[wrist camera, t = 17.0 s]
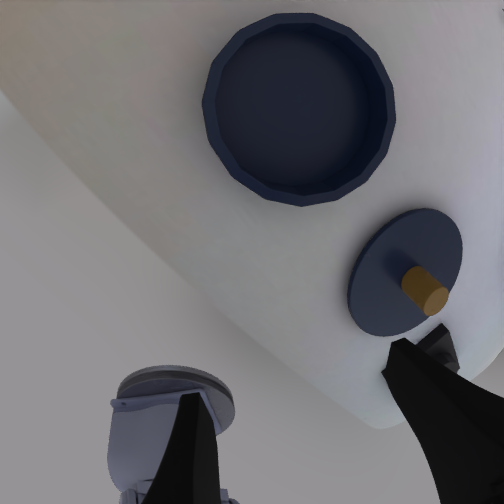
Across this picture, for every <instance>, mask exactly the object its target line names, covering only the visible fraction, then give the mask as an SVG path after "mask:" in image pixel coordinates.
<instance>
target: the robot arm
mask: <svg viewBox="0 0 504 504" xmlns="http://www.w3.org/2000/svg"><path fill="white" fill-rule="evenodd" d="M384 377H385V380H386V382H387V384H388V387H389V389H390V391H391V393H392V396H393V398H394V399H395V401H396V403H397V405H398V406H399V408H400V410H401V411H402V413H403V415H404V416H405V418H406V420H407V421H408V423H409V425H410V426H411V428H412V430H413V432H414V433H415V435H416V437H417V438H418V440H419V442H420V444H421V447H422V449H423V451H424V454H425V456H426V459H427V461H428V464H429V466H430V469H431V472H432V475H433V478H434V481H435V484H436V488H437V491H438V495H439V499H440V503H441V504H504V398H503V397H500V396H498V395H495V394H493V393H491V392H489V391H487V390H485V389H483V388H481V387H479V386H477V385H475V384H473V383H471V382H469V381H468V380H466V379H464V378H463V377H461V376H459V375H458V374H456V373H455V372H453V371H452V370H450V369H449V368H447V367H446V366H444V365H443V364H441V363H440V362H438V361H437V360H435V359H434V358H433V357H431V356H430V355H428V354H427V353H426V352H424V351H423V350H421V349H420V348H419V347H417V346H416V345H415V344H413V343H412V342H410V341H409V340H408V339H406V338H405V337H404V338H402V339H399V340H396V341H394V342H391V347H390V351H389V356H388V360H387V365H386V369H385V373H384ZM110 405H111V406H112V407H113V415H112V422H111V430H110V437H109V445H108V455H107V461H108V469H109V473H110V476H111V479H112V481H113V483H114V485H115V486H116V487H117V489H119V491H121V492H122V493H121V495H120V501H119V504H239V503H238V502H237V501H236V500H235V499H231V498H228V491H227V489H220V482H219V466H218V451H217V441H216V435H215V434H217V433H220V432H222V428H221V426H220V424H219V422H218V419H217V417H216V415H215V413H214V411H213V409H212V407H211V404H210V402H209V400H208V398H207V395H206V393H205V391H204V390H203V389H201V388H197V389H191V390H185V391H178V392H172V393H164V394H157V395H149V396H140V397H130V398H120V399H112V400H111V401H110Z"/></svg>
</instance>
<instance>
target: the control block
mask: <svg viewBox="0 0 504 504" xmlns="http://www.w3.org/2000/svg"><path fill="white" fill-rule="evenodd" d="M416 346H417V347H419V348H420V349H421V350H423V351H424V352H426V353H427V354H428V355H430V356H431V357H433V358H434V359H435V360H437V361H438V362H440V363H441V364H443V365H444V366H446V367H447V368H449V369H450V370H452V371H453V372H455V373H456V374H457V371H458V370H459V369H460V367H459V363H458V359H457V356H456V352H455V349H454V345H453V342H452V339H451V336H450V332H449V330H448V329H447V328H446V327H445V326H444V325H443V324H442V323H441V324H440V325H439V326H438V327H437V328H436V329H434V330H433V331H432V332H431V333H430V334H429V335H428V336H426V337H425V338H424V339H423V340H422V341H420V342H419V343H418V344H417V345H416ZM381 373H382V375H383V376H384V373H385V370H383V371H382V372H381ZM384 378H385V377H384Z"/></svg>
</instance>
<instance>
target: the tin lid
mask: <svg viewBox="0 0 504 504" xmlns="http://www.w3.org/2000/svg"><path fill="white" fill-rule="evenodd" d="M462 251H463V247H462V239H461V235H460V232H459V229H458V228H457V226H456V224H455V223H454V222H453V220H452V219H451V218H450V217H448V216H447V215H446V214H444V213H442V212H440V211H438V210H435V209H429V208H421V209H415V210H411V211H408V212H405V213H403V214H401V215H399V216H397V217H396V218H394V219H392V220H391V221H390V222H388V223H387V224H386V225H384V226H383V227H382V228H381V229H380V230H379V231H378V232H377V233H376V234H375V235H374V236H373V237H372V238H371V240H370V241H369V242H368V243H367V245H366V246H365V248H364V249H363V251H362V252H361V254H360V256H359V257H358V259H357V261H356V263H355V266H354V268H353V271H352V274H351V276H350V280H349V285H348V293H347V298H348V307H349V311H350V314H351V316H352V318H353V319H354V321H355V323H356V324H357V325H358V326H359V327H360V328H361V329H362V330H363V331H365V332H366V333H369V334H371V335H375V336H383V337H385V336H393V335H398V334H401V333H404V332H406V331H408V330H411V329H412V328H414V327H416V326H418V325H419V324H421V323H422V322H424V321H425V320H426V319H427V318H429V317H430V316H432V315H435V314H436V313H438V312H439V311H440V310H441V309H442V308H443V307H444V306H445V304H446V302H447V300H448V296H449V293H450V291H451V289H452V287H453V286H454V283H455V281H456V279H457V276H458V273H459V270H460V266H461V262H462Z"/></svg>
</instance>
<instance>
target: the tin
mask: <svg viewBox="0 0 504 504" xmlns="http://www.w3.org/2000/svg"><path fill="white" fill-rule="evenodd" d="M202 110H203V115H204V121H205V126H206V132H207V137H208V140H209V143H210V145H211V147H212V148H213V149H214V151H215V152H216V154H217V155H218V157H219V158H220V160H221V161H222V163H223V164H224V166H225V167H226V169H227V170H228V172H229V173H230V175H231V176H232V177H233V178H234V179H235V180H237V181H238V182H240V183H241V184H243V185H244V186H246V187H247V188H249V189H250V190H252V191H253V192H255V193H256V194H258V195H259V196H261V197H262V198H264V199H266V200H270V201H275V202H280V203H285V204H290V205H295V206H300V207H304V206H309V205H314V204H320V203H325V202H331V201H336V200H338V199H340V198H342V197H343V196H345V195H346V194H348V193H350V192H351V191H353V190H354V189H356V188H357V187H359V186H361V185H362V184H364V183H365V182H366V181H367V180H368V179H369V178H370V176H371V175H372V174H373V172H374V171H375V170H376V168H377V167H378V166H379V164H380V163H381V162H382V160H383V159H384V158H385V156H386V154H387V152H388V149H389V145H390V142H391V138H392V135H393V131H394V127H395V124H396V111H395V100H394V90H393V85H392V83H391V81H390V79H389V76H388V74H387V72H386V70H385V68H384V66H383V64H382V62H381V60H380V58H379V56H378V54H377V53H376V52H375V51H374V50H373V49H372V48H371V47H370V46H369V45H368V44H367V43H366V42H365V41H364V40H363V39H362V38H361V37H360V36H359V35H358V34H357V33H355V32H354V31H353V30H352V29H351V28H349V27H347V26H345V25H342V24H340V23H338V22H335V21H333V20H330V19H328V18H325V17H323V16H320V15H317V14H314V13H281V14H273V15H271V16H268V17H266V18H264V19H262V20H259V21H257V22H255V23H253V24H251V25H249V26H247V27H245V28H242V29H240V30H239V31H238V32H237V33H236V34H235V35H234V36H233V37H232V38H231V40H230V41H229V42H228V43H227V44H226V45H225V47H224V48H223V49H222V50H221V52H220V53H219V54H218V55H217V56H216V58H215V59H214V60H213V62H212V64H211V67H210V71H209V74H208V78H207V82H206V86H205V90H204V94H203V98H202Z"/></svg>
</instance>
